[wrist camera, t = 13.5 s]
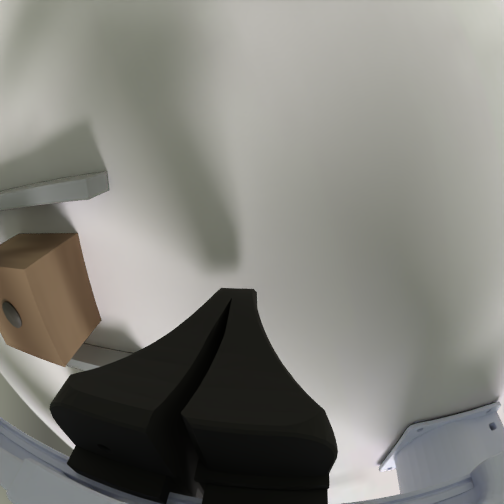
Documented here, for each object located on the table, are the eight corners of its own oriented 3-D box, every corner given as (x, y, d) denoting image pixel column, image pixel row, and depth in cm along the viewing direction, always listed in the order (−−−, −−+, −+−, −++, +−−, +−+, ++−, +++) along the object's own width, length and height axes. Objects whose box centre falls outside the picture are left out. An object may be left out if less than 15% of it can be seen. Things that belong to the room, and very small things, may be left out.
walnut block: (79, 232, 12) (22, 270, 8) (102, 318, 14) (63, 368, 10) (20, 232, 13) (-29, 263, 9) (43, 307, 15) (5, 345, 11)
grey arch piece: (106, 171, 11) (85, 178, 9) (151, 365, 15) (142, 384, 14) (-17, 196, 12) (-34, 203, 10) (29, 336, 16) (18, 348, 15)
